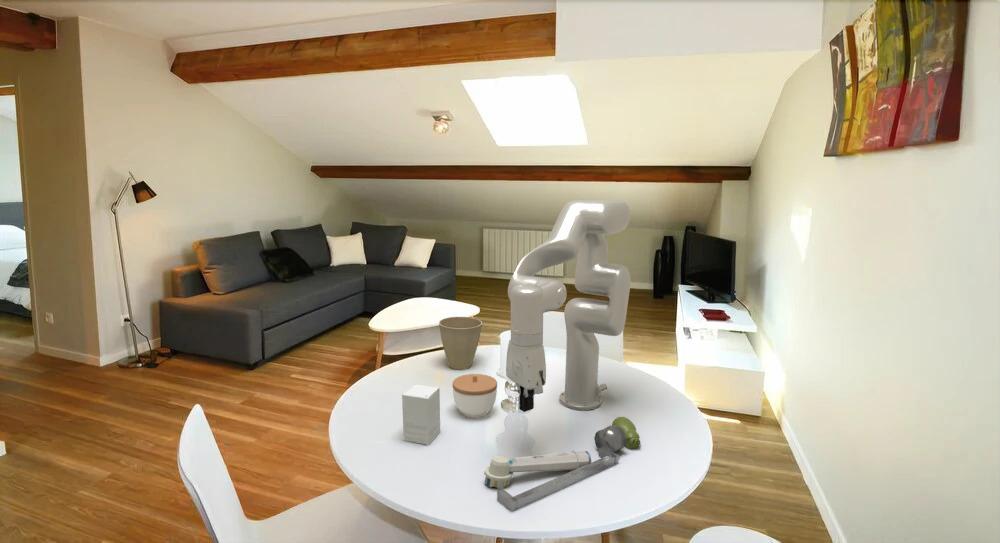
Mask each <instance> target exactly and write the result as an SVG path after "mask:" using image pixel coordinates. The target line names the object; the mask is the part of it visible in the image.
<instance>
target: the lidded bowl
mask: <svg viewBox="0 0 1000 543" xmlns="http://www.w3.org/2000/svg"><path fill="white" fill-rule="evenodd" d="M497 392H498V381H497V380H496V379H495V378H494V377H492V376H490V375H488V374H481V373H469V374H463V375H460V376H457V377H456V378H454V379H453V381H452V394H453V395H452V396H453V401H454V404H455V406H456V408H457V409H458V411H459V412H461V413H463V414H462V415H463V416H464V415H465V417H467V418H471V419H472V418H473V419H475V418H476V419H478V417H479V418H482V417H485V416H486V415H487V414H488V412H490V410H492V409H493V406H494V405H495V403H496V399H497Z"/></svg>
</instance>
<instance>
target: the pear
mask: <svg viewBox="0 0 1000 543" xmlns="http://www.w3.org/2000/svg"><path fill="white" fill-rule="evenodd" d="M612 425H617V426H619V427H620V428H621V429H622V430H623V431H624V433H625V435H626V439H627V443H626V446H625V448H626V450H627V449H628V450H631V449H639V448H640V445H641V441H640V435H639V433H638V432H637V427H636V425H635V424H634V422H633V421H632V420H631V419H630V418H628V417H626V416H618V417H616V418H614V420H613V421H612V423H611V426H612ZM630 448H631V449H630Z"/></svg>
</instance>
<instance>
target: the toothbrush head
mask: <svg viewBox="0 0 1000 543" xmlns="http://www.w3.org/2000/svg"><path fill="white" fill-rule="evenodd" d="M589 463H592V457H591V454H590V452H588V451H586V450H585V451H576V450H575V449H572V450H571V451H569V452H558V453H549V454H548V453H547V454H540V455H532V456H531V455H530V456H521V457H511V458H508V457H507V456H504V455H495V456H493V457H492V459H491V460H490V463H489V466H487V467H486V468H485V470H484V471H483V475H484V476H485V479H484V483H485V485H486V486H487V487H490V488H492V487H494V488H497V490H498V489H499V490H501V489H505V487H508V486H509V485H510V484H511V480H512V478H513V476H514V473H532V472H556V471H557V472H558V471H573V470H576V469H578V468H580V467H583V466H585V465H587V464H589Z"/></svg>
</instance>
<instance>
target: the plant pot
mask: <svg viewBox="0 0 1000 543" xmlns="http://www.w3.org/2000/svg"><path fill="white" fill-rule="evenodd" d="M438 325H439V333H440V339H441V343H442V347H443V351H444V355H445V358H446V360H447V363H448V366H449V367H450V368H451V369H453V370H460V371H461V370H466V369H469V368H470V367H471V365H472V363H473V361H474V358H475V355H476V352H477V349H478V346H479V342H480V338H481V332H482V326H483V321H482V320H480V319H479V318H476V317H470V316H450V317H449V316H448V317H446V318H442V319H440V320H439V321H438Z"/></svg>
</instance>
